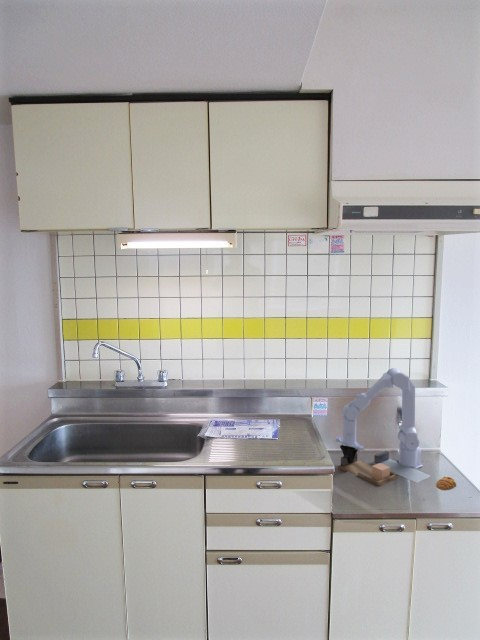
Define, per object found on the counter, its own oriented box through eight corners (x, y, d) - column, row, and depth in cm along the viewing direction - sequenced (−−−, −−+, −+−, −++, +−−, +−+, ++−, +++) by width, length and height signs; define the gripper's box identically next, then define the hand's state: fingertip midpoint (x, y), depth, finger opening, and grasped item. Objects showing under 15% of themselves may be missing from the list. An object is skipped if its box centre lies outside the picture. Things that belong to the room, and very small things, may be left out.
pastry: (448, 496, 165) (449, 487, 165) (431, 490, 170) (431, 481, 170) (458, 488, 172) (458, 479, 171) (440, 482, 176) (441, 473, 176)
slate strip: (386, 460, 197) (387, 449, 196) (431, 479, 178) (431, 467, 178) (372, 466, 191) (372, 455, 190) (416, 486, 173) (417, 474, 172)
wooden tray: (356, 461, 195) (356, 451, 195) (398, 481, 177) (398, 469, 177) (337, 468, 189) (338, 458, 188) (379, 489, 171) (379, 477, 170)
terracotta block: (379, 474, 180) (379, 462, 180) (389, 478, 176) (390, 467, 176) (371, 477, 178) (372, 465, 177) (381, 482, 174) (382, 470, 173)
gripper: (331, 429, 193) (330, 458, 195) (356, 439, 181) (355, 470, 183) (341, 426, 197) (341, 454, 199) (367, 435, 185) (366, 465, 187)
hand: (349, 461), depth 191 cm, fingers closed on wooden tray, 2 cm apart
